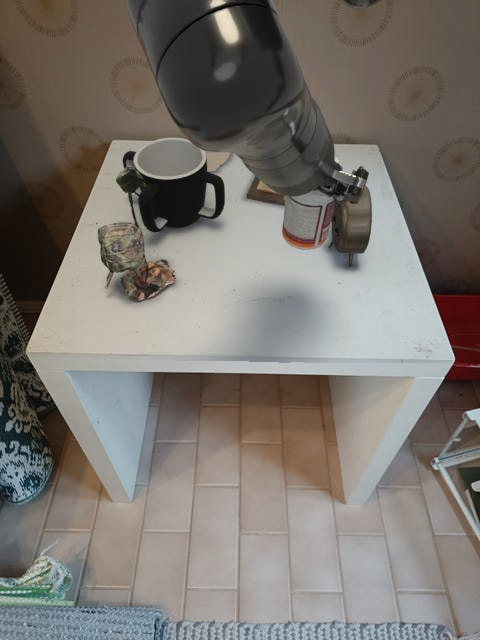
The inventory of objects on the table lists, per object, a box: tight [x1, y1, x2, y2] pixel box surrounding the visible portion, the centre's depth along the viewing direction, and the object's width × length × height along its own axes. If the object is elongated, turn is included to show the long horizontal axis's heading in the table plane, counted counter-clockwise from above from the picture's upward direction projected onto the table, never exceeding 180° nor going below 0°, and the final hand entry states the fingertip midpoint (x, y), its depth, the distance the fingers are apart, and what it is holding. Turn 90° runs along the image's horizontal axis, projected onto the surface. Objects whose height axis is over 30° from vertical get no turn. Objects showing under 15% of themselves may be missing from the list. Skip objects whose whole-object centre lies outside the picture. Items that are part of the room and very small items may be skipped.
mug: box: [122, 137, 226, 234], centre depth 76 cm, size 16×16×12 cm
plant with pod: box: [94, 165, 177, 302], centre depth 63 cm, size 8×11×20 cm
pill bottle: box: [281, 156, 340, 251], centre depth 54 cm, size 6×6×11 cm
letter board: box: [246, 175, 286, 207], centre depth 84 cm, size 22×9×1 cm, turn 73°
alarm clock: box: [328, 165, 373, 267], centre depth 69 cm, size 11×5×16 cm, turn 179°
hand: (316, 186), depth 53 cm, fingers closed on pill bottle, 6 cm apart
